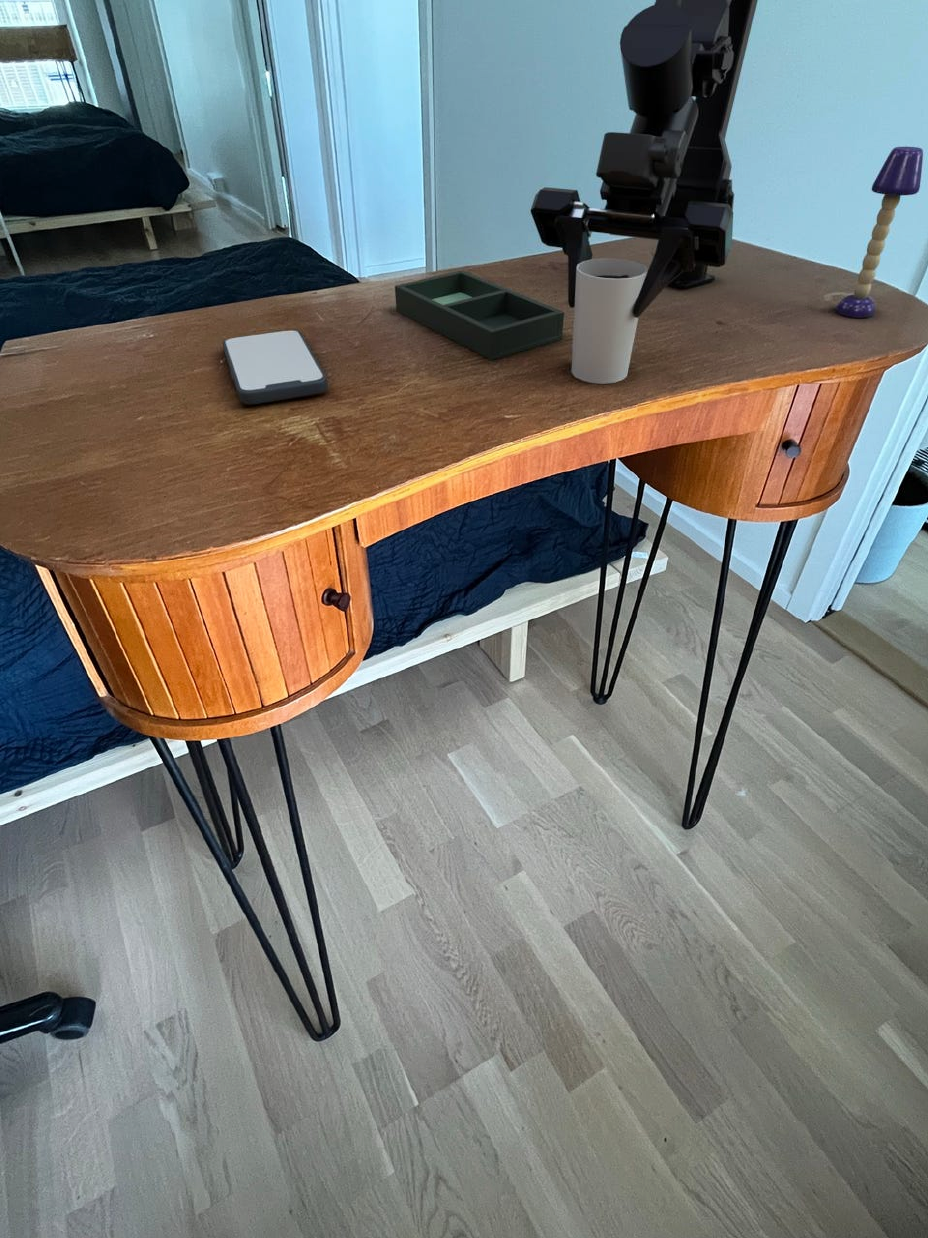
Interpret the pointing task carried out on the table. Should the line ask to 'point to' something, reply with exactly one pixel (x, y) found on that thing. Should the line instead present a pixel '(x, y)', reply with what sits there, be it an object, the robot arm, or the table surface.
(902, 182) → the toy lamp
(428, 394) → the table surface
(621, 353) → the white cup
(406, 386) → the table surface
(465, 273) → the tray
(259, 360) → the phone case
